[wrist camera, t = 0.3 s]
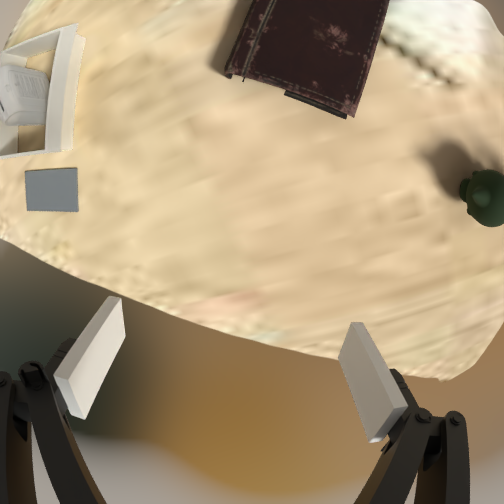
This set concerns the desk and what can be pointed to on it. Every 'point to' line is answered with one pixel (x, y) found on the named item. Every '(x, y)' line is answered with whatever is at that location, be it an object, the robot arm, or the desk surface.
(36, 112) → the photo printer
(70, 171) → the mat
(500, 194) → the toy figurine
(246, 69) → the diary
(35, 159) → the desk surface
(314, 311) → the desk surface
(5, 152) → the carton
